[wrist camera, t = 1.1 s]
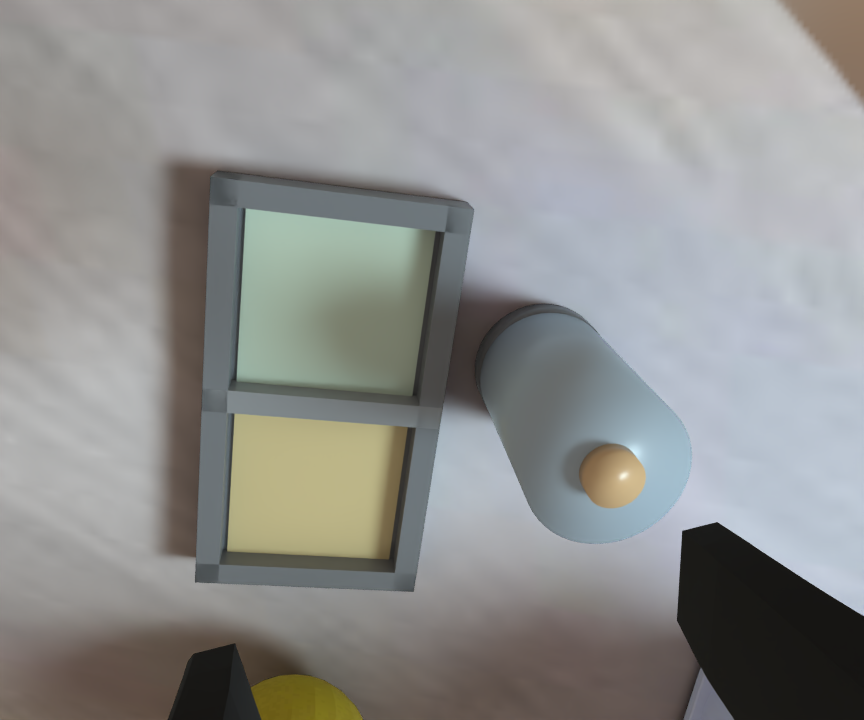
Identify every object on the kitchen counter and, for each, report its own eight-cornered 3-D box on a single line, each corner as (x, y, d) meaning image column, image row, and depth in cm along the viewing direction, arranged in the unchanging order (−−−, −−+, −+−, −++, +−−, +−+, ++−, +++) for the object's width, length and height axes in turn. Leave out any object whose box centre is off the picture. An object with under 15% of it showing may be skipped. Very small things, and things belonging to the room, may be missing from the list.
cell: (614, 311, 23) (722, 407, 17) (587, 429, 25) (676, 561, 18) (486, 297, 23) (546, 392, 16) (465, 419, 24) (513, 552, 17)
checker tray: (467, 201, 21) (474, 209, 20) (410, 568, 26) (413, 591, 25) (217, 170, 20) (210, 176, 19) (201, 559, 25) (195, 582, 24)
